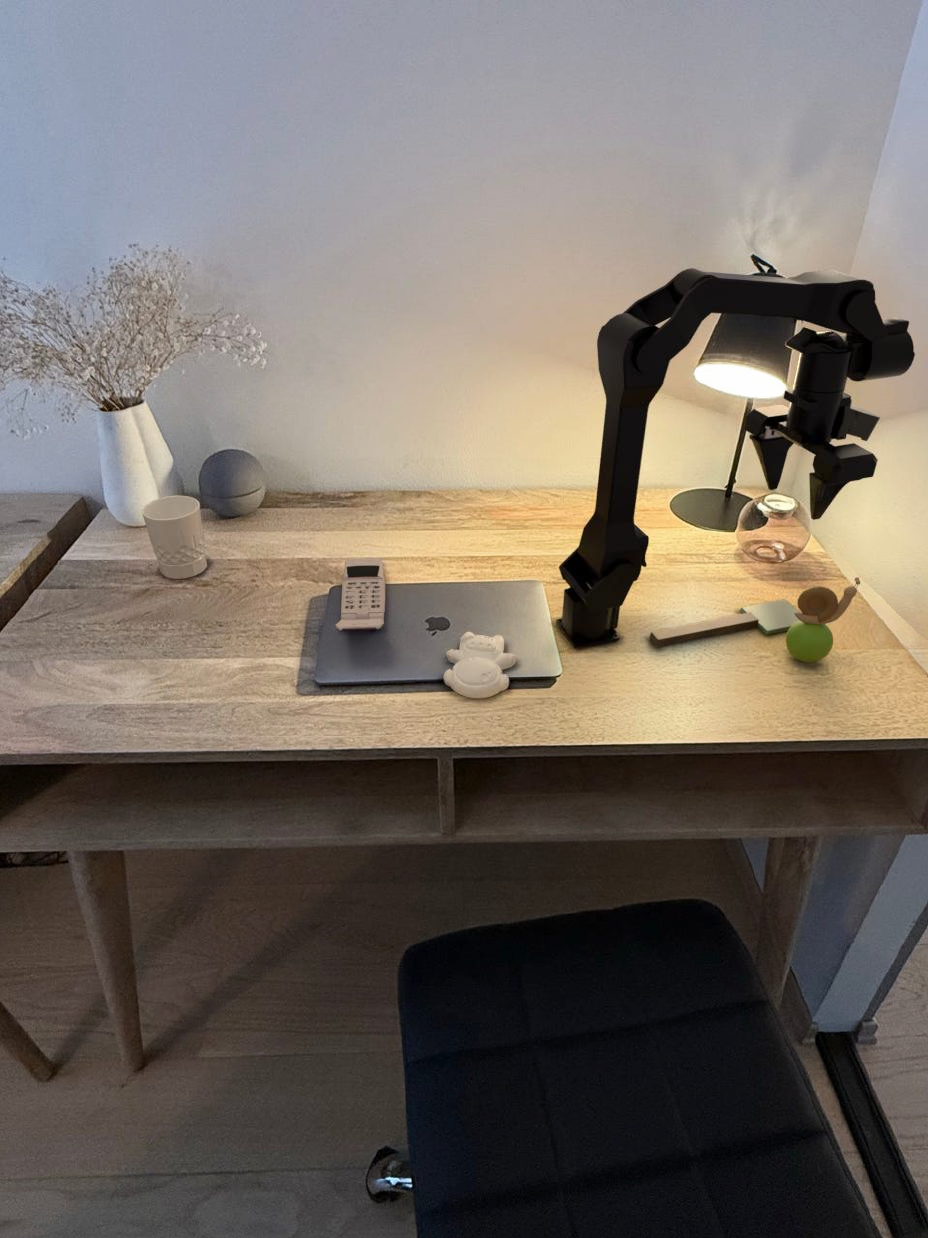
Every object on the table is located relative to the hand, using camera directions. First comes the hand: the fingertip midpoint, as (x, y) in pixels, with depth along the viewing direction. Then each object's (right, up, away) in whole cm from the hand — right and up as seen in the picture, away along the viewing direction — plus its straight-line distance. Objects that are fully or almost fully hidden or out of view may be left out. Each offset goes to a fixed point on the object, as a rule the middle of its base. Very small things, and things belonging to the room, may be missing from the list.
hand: (793, 503), depth 107 cm
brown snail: (+1, -20, -3) cm, 20 cm away
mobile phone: (-57, -14, +6) cm, 59 cm away
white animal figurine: (-41, -21, -5) cm, 46 cm away
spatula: (-8, -16, +2) cm, 18 cm away
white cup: (-85, -8, +16) cm, 86 cm away
